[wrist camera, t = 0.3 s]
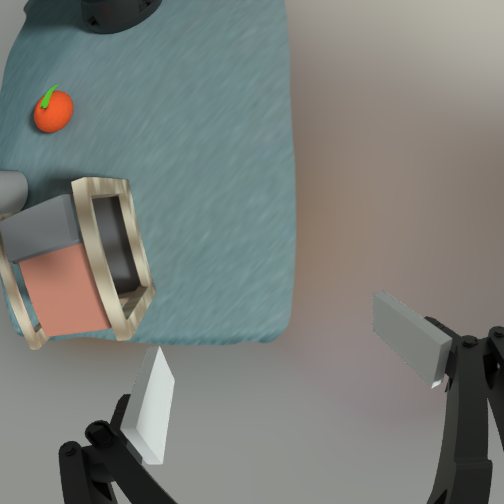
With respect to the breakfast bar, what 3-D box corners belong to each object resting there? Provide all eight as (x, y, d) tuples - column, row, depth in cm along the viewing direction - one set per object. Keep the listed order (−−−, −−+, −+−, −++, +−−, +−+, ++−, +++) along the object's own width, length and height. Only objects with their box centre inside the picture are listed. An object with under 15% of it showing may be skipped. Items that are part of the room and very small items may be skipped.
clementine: (58, 89, 32) (38, 78, 26) (88, 92, 34) (69, 79, 27) (43, 132, 34) (20, 126, 27) (71, 138, 35) (49, 131, 28)
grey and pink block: (16, 219, 27) (-6, 224, 22) (89, 190, 28) (69, 191, 23) (50, 328, 31) (34, 344, 26) (124, 316, 32) (111, 335, 27)
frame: (43, 208, 37) (-13, 220, 22) (128, 179, 38) (85, 176, 24) (72, 308, 41) (30, 349, 27) (156, 292, 42) (131, 339, 28)
